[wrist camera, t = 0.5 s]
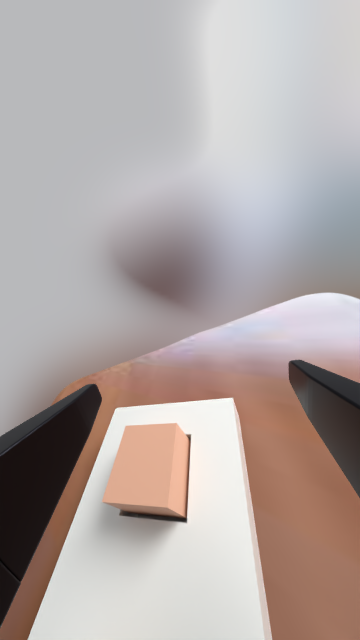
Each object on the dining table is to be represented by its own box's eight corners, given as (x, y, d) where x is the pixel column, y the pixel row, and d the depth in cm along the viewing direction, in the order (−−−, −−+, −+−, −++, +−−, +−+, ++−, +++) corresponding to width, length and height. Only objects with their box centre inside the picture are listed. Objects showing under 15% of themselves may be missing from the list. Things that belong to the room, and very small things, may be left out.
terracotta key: (187, 518, 14) (167, 507, 11) (129, 512, 15) (101, 501, 13) (191, 442, 17) (176, 422, 15) (144, 443, 19) (125, 425, 17)
